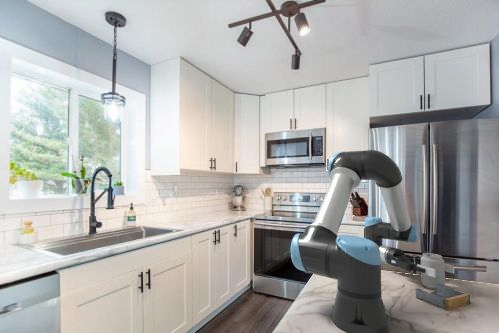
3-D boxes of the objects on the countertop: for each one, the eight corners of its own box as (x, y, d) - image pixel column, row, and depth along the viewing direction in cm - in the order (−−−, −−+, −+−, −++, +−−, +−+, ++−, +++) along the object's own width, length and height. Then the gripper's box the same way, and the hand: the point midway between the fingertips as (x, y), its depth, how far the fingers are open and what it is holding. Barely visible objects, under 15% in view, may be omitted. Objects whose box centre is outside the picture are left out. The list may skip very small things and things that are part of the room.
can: (432, 282, 106) (430, 251, 107) (450, 289, 99) (449, 256, 100) (416, 284, 104) (415, 252, 105) (434, 292, 97) (433, 258, 98)
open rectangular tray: (446, 310, 83) (446, 300, 83) (415, 297, 92) (415, 288, 93) (470, 303, 88) (470, 294, 88) (438, 292, 97) (438, 283, 97)
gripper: (409, 261, 123) (464, 277, 102) (372, 267, 114) (424, 286, 94) (409, 244, 123) (463, 257, 103) (372, 249, 115) (423, 264, 94)
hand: (444, 271), depth 98 cm, fingers open, 10 cm apart
